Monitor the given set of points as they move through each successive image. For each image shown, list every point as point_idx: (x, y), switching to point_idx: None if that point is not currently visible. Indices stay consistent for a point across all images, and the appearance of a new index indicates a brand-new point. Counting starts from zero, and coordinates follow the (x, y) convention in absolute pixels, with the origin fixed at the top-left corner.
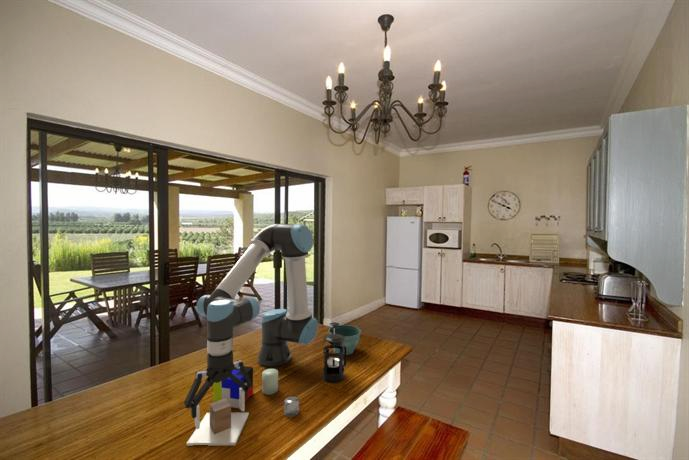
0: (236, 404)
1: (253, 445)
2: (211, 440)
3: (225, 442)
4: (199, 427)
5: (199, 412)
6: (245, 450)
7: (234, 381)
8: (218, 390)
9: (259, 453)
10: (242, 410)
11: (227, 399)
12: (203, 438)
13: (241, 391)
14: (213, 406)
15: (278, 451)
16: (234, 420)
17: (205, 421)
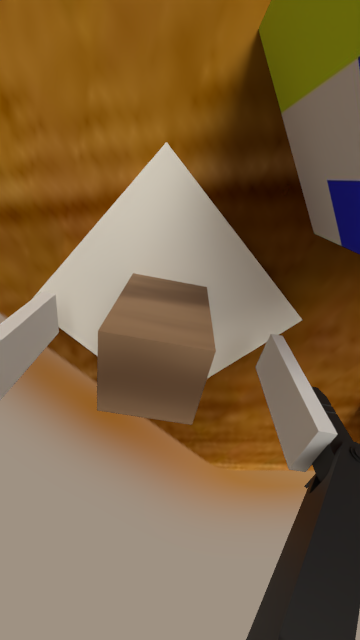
0: (320, 224)
1: (198, 426)
2: None
3: None
4: (55, 335)
5: (7, 390)
6: (173, 425)
7: (256, 617)
8: (327, 23)
9: (192, 448)
10: (257, 370)
11: (314, 158)
12: (87, 325)
13: (295, 456)
14: (109, 372)
15: (225, 466)
16: (226, 320)
17: (128, 226)
